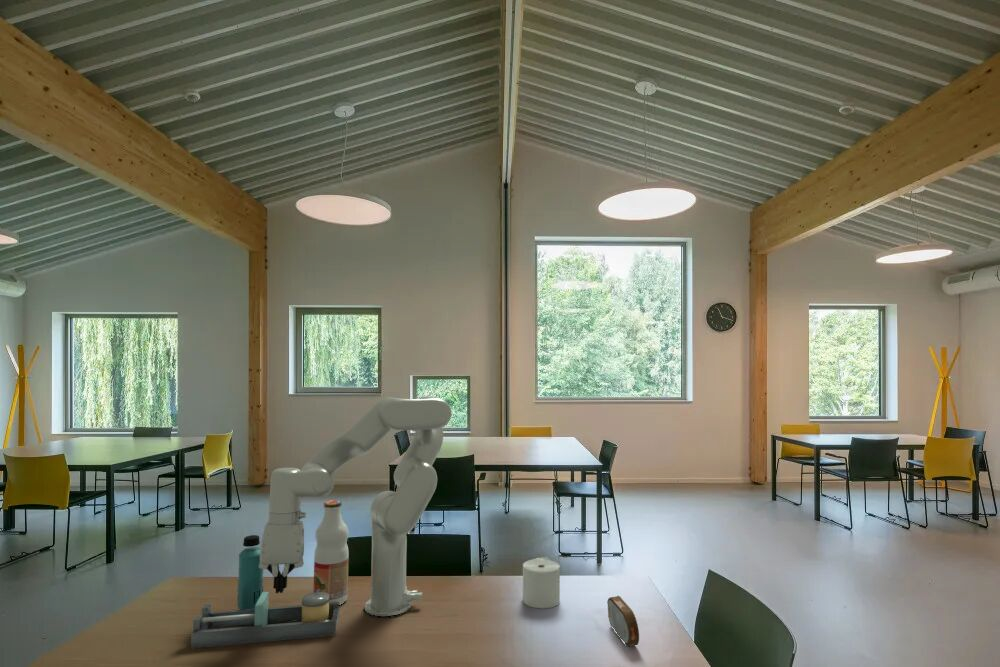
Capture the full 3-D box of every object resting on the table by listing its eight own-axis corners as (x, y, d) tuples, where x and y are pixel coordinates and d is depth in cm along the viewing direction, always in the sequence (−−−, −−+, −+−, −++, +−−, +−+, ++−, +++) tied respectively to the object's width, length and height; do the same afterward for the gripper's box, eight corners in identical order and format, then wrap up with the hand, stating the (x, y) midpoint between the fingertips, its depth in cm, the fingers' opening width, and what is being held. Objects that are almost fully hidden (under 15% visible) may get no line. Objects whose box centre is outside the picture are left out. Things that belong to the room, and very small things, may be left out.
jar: (330, 620, 148) (330, 590, 148) (327, 632, 141) (328, 601, 141) (303, 622, 146) (303, 593, 147) (299, 634, 140) (299, 603, 140)
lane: (339, 615, 150) (339, 592, 151) (335, 635, 139) (336, 610, 140) (205, 626, 144) (206, 602, 144) (190, 648, 133) (191, 622, 133)
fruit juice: (345, 607, 155) (348, 505, 156) (310, 610, 153) (313, 506, 155) (349, 593, 164) (351, 497, 166) (315, 596, 163) (318, 498, 164)
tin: (640, 652, 132) (640, 615, 133) (627, 653, 132) (627, 616, 132) (616, 623, 147) (616, 590, 148) (605, 623, 147) (605, 591, 147)
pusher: (267, 622, 145) (268, 591, 146) (261, 638, 137) (261, 605, 138) (202, 627, 142) (203, 596, 143) (191, 644, 134) (192, 610, 134)
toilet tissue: (528, 610, 154) (528, 573, 155) (517, 593, 166) (517, 558, 166) (565, 607, 157) (565, 570, 157) (551, 590, 168) (551, 556, 169)
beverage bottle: (253, 617, 149) (255, 541, 150) (231, 615, 150) (233, 539, 151) (267, 607, 155) (270, 533, 156) (246, 604, 156) (248, 532, 158)
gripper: (316, 513, 149) (312, 584, 147) (256, 514, 146) (251, 586, 144) (312, 520, 141) (308, 595, 140) (249, 522, 138) (244, 598, 137)
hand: (279, 590), depth 142 cm, fingers closed
